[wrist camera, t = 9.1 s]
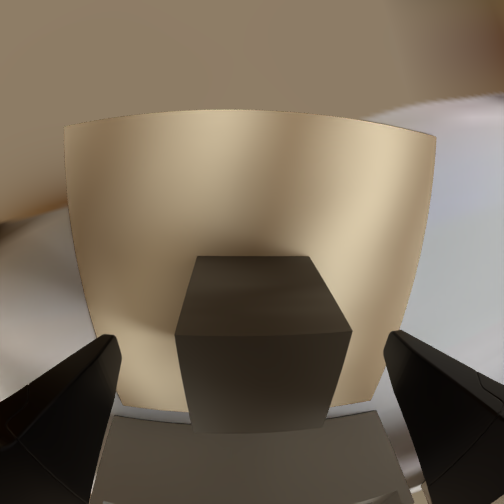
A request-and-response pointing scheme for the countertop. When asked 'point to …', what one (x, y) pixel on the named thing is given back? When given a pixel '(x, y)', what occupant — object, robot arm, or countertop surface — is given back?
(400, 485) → the box
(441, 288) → the countertop surface
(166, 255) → the cover plate
